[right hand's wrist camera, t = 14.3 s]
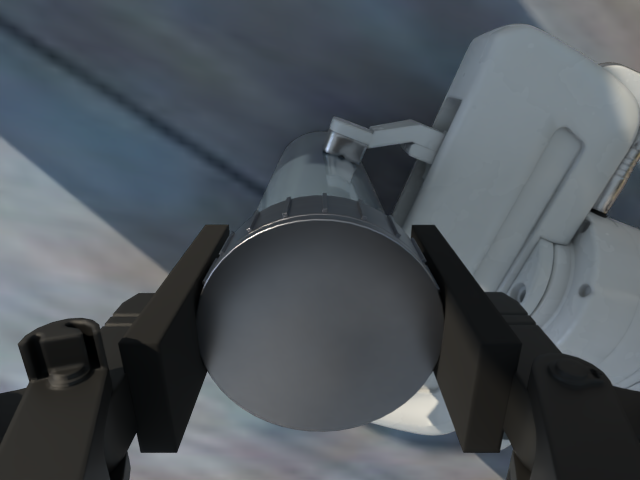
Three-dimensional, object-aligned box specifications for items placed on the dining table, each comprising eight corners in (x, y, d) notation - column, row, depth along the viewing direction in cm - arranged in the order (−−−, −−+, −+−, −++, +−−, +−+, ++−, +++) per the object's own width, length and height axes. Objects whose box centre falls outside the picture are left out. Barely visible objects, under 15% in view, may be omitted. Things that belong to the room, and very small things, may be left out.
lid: (436, 187, 11) (459, 210, 9) (423, 381, 13) (439, 431, 12) (196, 196, 11) (172, 221, 9) (225, 387, 13) (210, 437, 12)
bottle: (337, 228, 28) (358, 429, 12) (263, 192, 27) (185, 358, 11) (378, 156, 26) (464, 284, 11) (301, 115, 25) (270, 187, 10)
